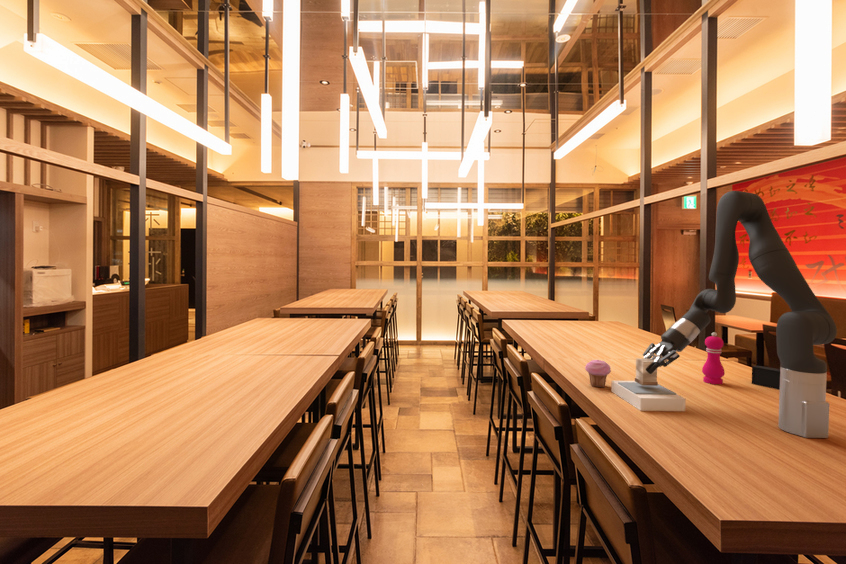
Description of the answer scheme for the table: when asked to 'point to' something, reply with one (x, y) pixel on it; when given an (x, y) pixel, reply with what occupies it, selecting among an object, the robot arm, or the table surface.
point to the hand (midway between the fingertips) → (643, 369)
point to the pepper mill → (713, 360)
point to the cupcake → (598, 372)
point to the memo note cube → (645, 373)
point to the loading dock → (648, 396)
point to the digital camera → (766, 377)
